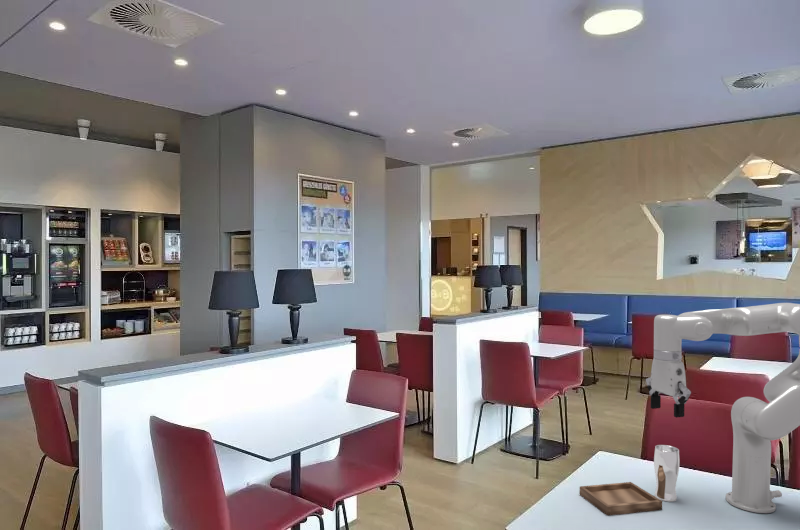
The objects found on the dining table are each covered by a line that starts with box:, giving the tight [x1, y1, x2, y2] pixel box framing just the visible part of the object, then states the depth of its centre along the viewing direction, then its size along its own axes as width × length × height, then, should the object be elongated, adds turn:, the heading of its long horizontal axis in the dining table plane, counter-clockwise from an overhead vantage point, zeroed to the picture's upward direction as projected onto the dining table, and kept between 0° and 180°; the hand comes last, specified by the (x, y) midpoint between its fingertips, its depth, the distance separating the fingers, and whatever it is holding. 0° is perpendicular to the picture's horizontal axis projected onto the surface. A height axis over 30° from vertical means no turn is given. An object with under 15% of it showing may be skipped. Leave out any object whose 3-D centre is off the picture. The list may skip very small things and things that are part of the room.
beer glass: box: [653, 444, 680, 503], centre depth 168 cm, size 7×7×15 cm
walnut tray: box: [578, 481, 663, 517], centre depth 164 cm, size 18×14×2 cm
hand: (667, 412), depth 167 cm, fingers open, 9 cm apart
